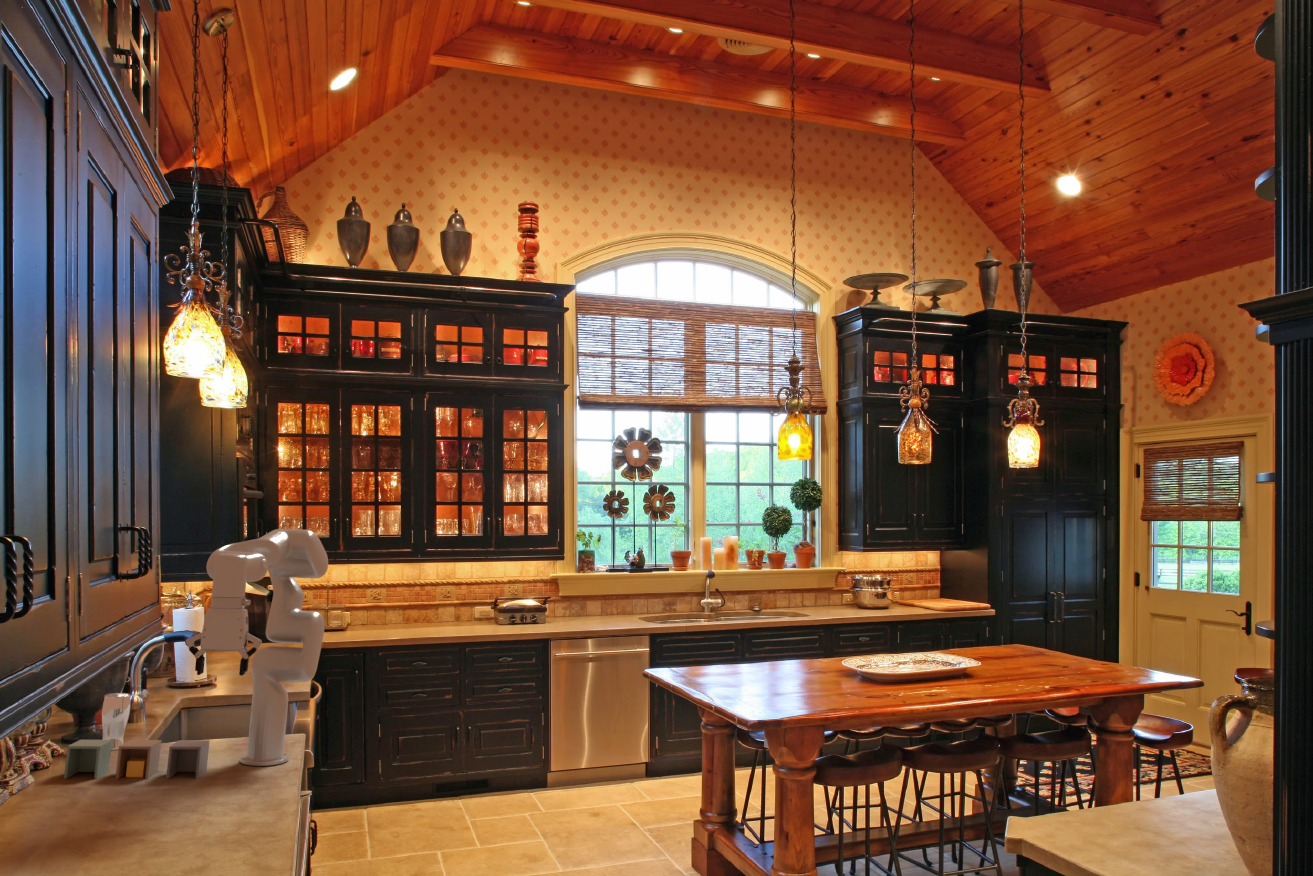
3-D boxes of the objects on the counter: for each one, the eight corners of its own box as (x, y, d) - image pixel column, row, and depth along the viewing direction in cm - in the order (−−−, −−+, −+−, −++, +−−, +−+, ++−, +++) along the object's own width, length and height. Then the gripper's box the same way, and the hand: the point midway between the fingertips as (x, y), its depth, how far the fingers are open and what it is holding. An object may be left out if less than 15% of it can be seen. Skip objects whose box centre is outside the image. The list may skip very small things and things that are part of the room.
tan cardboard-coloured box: (126, 771, 240) (130, 740, 241) (158, 771, 241) (161, 740, 242) (115, 778, 232) (119, 746, 233) (147, 778, 234) (151, 746, 235)
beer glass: (120, 744, 268) (125, 692, 270) (129, 748, 263) (135, 695, 265) (93, 747, 263) (100, 694, 264) (103, 752, 258) (109, 697, 260)
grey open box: (175, 771, 242) (179, 740, 243) (206, 771, 243) (209, 740, 244) (166, 778, 235) (169, 746, 235) (197, 778, 236) (200, 746, 237)
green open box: (76, 771, 238) (80, 739, 239) (108, 771, 239) (112, 739, 240) (63, 778, 230) (67, 746, 231) (96, 778, 232) (100, 746, 232)
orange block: (131, 773, 238) (133, 757, 239) (148, 773, 239) (149, 757, 240) (125, 777, 234) (127, 761, 235) (142, 777, 235) (144, 761, 236)
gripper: (267, 603, 231) (261, 672, 229) (194, 601, 227) (187, 671, 226) (261, 606, 223) (255, 677, 222) (185, 604, 220) (178, 676, 218)
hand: (221, 674), depth 224 cm, fingers open, 9 cm apart
